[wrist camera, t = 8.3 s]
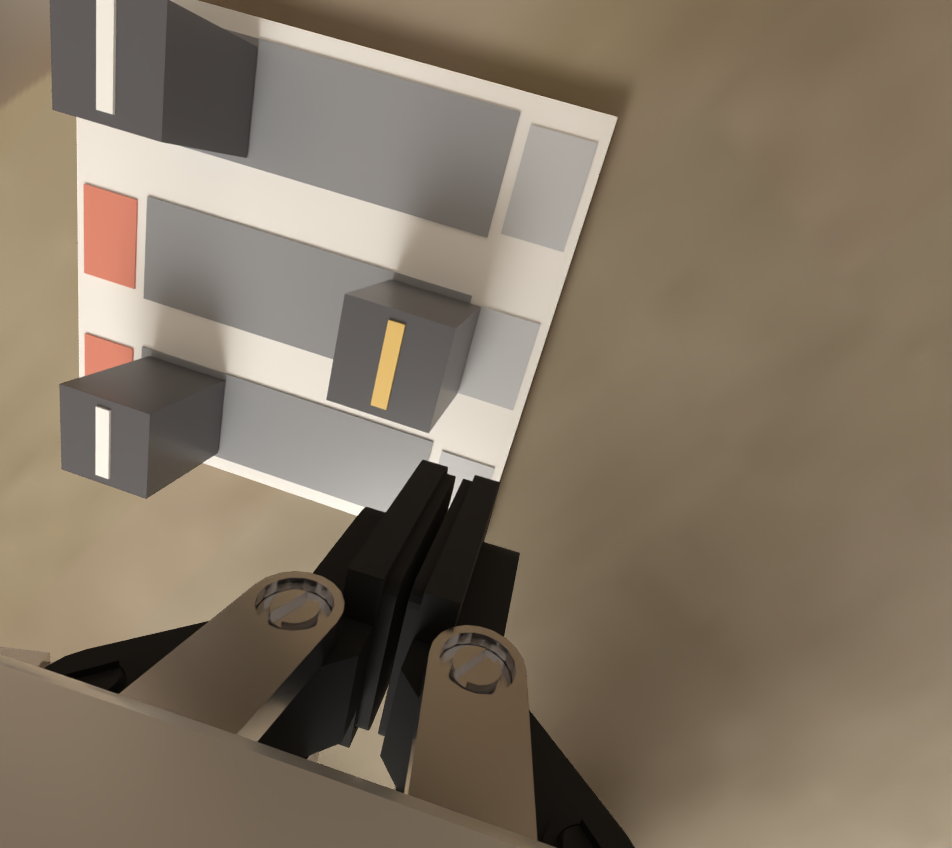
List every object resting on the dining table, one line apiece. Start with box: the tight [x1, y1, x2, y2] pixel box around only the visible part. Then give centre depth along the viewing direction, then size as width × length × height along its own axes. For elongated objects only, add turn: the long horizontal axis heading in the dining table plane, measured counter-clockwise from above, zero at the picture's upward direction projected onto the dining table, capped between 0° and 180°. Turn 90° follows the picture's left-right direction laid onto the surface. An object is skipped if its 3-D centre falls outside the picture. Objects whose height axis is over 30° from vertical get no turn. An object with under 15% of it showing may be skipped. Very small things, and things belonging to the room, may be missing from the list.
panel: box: [50, 0, 618, 516], centre depth 23 cm, size 22×20×6 cm
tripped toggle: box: [326, 279, 481, 433], centre depth 22 cm, size 4×4×5 cm
